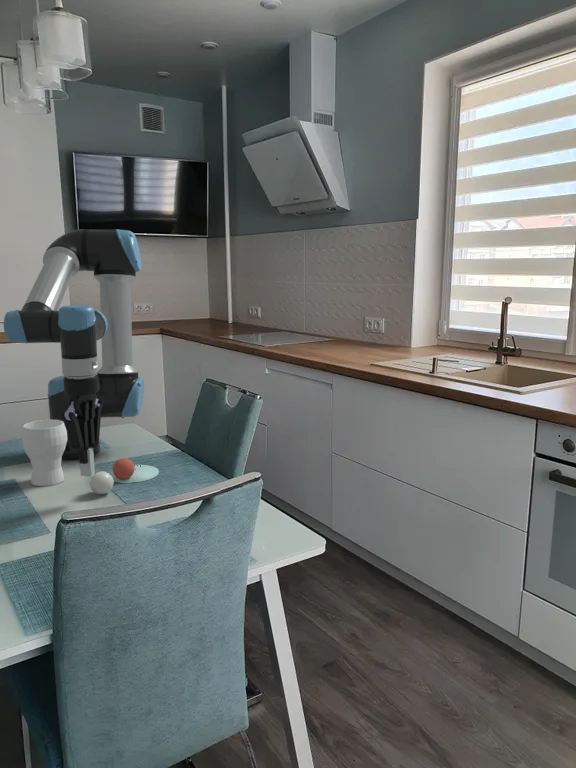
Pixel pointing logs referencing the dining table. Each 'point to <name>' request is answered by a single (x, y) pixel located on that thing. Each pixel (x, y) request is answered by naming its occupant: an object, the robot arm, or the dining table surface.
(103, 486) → the cue ball
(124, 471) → the object ball
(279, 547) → the dining table surface
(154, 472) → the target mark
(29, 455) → the cup
